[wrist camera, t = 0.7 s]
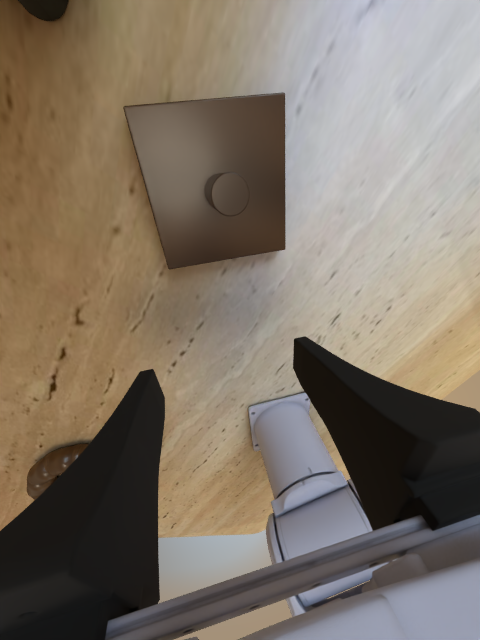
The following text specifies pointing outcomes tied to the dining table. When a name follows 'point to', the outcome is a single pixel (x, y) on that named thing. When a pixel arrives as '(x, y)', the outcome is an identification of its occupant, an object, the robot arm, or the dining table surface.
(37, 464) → the segmented ring
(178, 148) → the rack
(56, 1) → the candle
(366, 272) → the dining table surface
